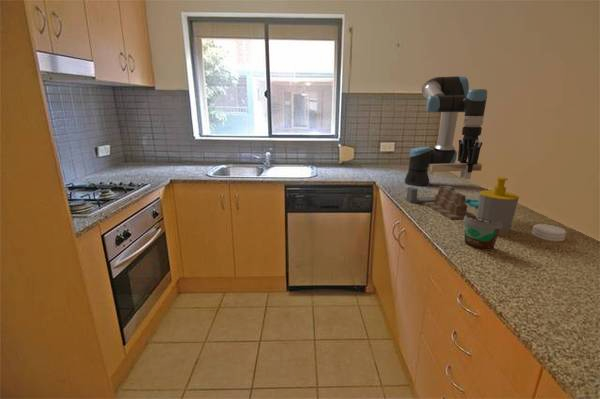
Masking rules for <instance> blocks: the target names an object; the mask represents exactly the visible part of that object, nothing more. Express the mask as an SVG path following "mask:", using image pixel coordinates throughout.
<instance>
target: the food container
mask: <svg viewBox="0 0 600 399" xmlns="http://www.w3.org/2000/svg"><path fill="white" fill-rule="evenodd" d="M462 221H463V222H464V244H465V245H467V246H468V247H471V248H473V249H478V250H484V251H485V250H491V249H494V248H495V245H496V241H497V238H498V236H499V235H498V233H499V230H500V229H501V228H503V224H502V222H500V223H494V222H490V221H488V220H485V219H478V218H477V217H476V218H472V217H467V214H466V215H465V217H464V219H462Z"/></svg>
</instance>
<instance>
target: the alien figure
mask: <svg viewBox="0 0 600 399" xmlns="http://www.w3.org/2000/svg"><path fill="white" fill-rule="evenodd" d="M465 204H468V206H469V207H471V208H473V207H474V209H478V204H479V199H475V198H474V199H473V198H472V199H471V198H467V197H465Z"/></svg>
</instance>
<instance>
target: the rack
mask: <svg viewBox="0 0 600 399" xmlns="http://www.w3.org/2000/svg"><path fill="white" fill-rule="evenodd" d="M443 186H444V187H446V188H449V189H451V190H453V191H455V187H453V186H450V185H443ZM404 200H405V201H407V202H408V203H410V204H411V203H412V204H413V203H414V204H415V203H417V204H418V203H425V202H434V200H435V196H419V197H418V188H416V187H414V186H407V191H406V197H405V198H404Z"/></svg>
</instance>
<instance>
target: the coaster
mask: <svg viewBox="0 0 600 399" xmlns="http://www.w3.org/2000/svg"><path fill="white" fill-rule="evenodd" d="M531 234H532V235H533V236H534V237H536V238H538V239H540V240H545V241H549V242H563V241H564V240H565V239H566V234H567V231H566V229H564V228H562V227H559V226H556V225H551V224H544V223H537V224H534V225H533V226H532V230H531Z"/></svg>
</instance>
